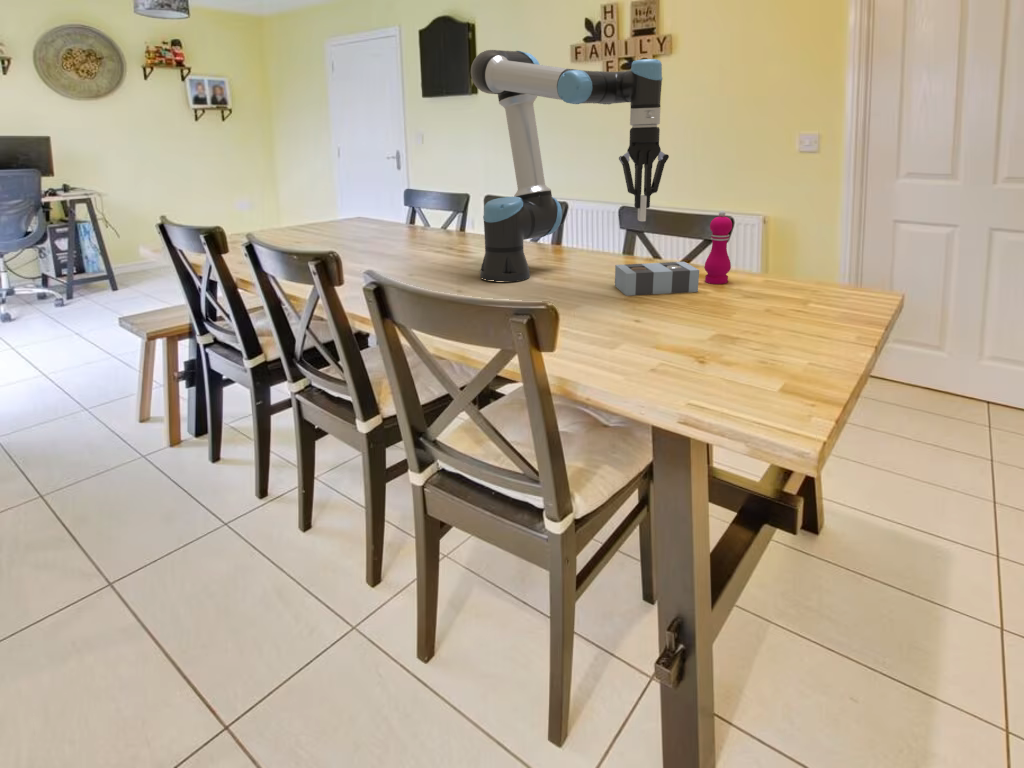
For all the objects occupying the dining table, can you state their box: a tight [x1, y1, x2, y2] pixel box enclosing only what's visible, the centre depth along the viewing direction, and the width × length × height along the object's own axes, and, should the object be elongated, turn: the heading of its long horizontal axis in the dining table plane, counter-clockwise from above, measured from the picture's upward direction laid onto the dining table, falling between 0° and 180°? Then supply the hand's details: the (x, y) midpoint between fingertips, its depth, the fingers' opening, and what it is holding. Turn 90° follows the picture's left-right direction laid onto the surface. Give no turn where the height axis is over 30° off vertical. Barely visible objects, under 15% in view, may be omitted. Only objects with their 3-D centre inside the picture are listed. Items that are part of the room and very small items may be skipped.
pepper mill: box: [704, 210, 733, 285], centre depth 190 cm, size 7×7×20 cm
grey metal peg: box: [667, 265, 681, 269], centre depth 187 cm, size 4×4×6 cm
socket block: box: [614, 261, 700, 297], centre depth 186 cm, size 20×12×6 cm, turn 96°
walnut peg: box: [631, 267, 646, 270], centre depth 186 cm, size 4×4×6 cm
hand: (641, 220), depth 180 cm, fingers closed
